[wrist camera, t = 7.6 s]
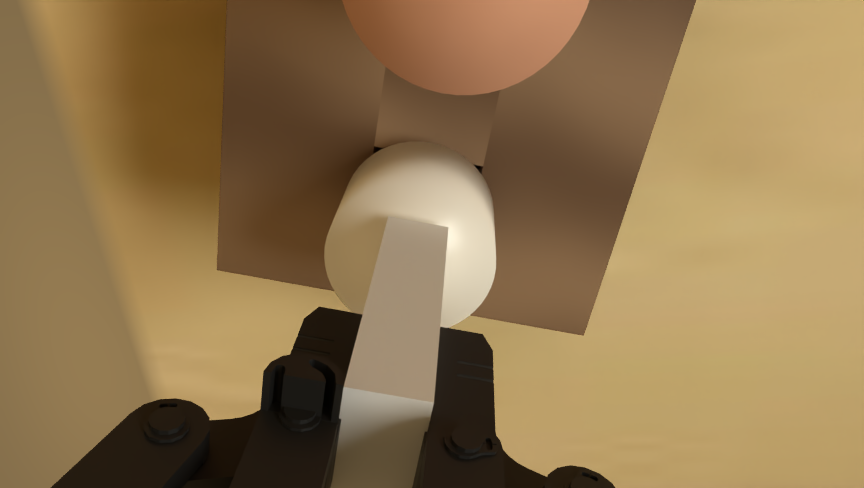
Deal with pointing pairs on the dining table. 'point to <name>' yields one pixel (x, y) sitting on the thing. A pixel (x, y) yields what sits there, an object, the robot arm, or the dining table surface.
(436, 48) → the knob middle
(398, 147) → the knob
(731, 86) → the dining table surface
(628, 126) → the knob console
